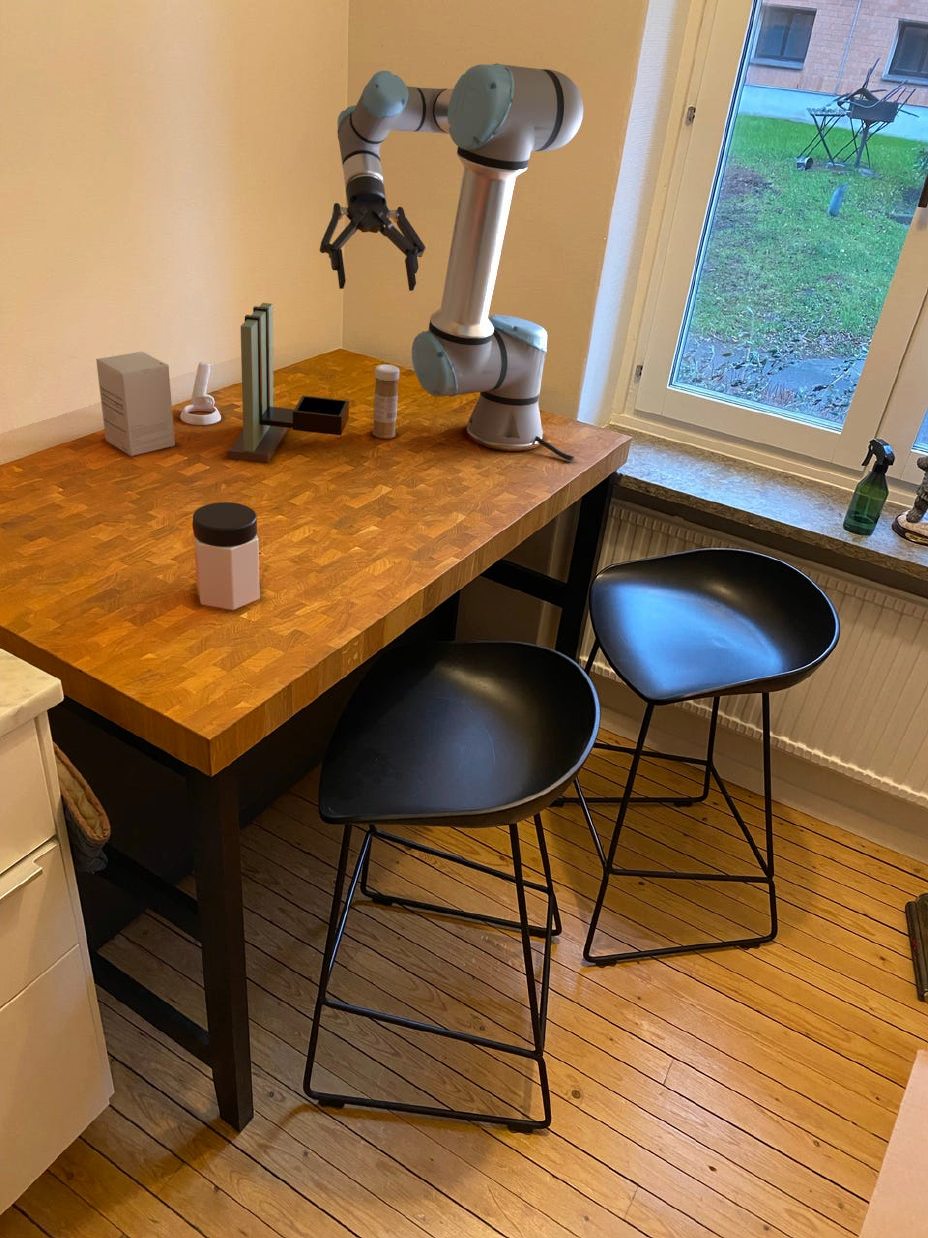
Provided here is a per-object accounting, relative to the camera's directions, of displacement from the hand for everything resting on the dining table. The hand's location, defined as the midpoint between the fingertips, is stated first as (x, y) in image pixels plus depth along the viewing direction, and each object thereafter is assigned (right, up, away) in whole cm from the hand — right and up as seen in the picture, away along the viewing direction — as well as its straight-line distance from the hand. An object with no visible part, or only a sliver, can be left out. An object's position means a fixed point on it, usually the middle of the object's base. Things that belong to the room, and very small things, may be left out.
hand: (378, 285), depth 178 cm
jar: (-16, -60, -49) cm, 79 cm away
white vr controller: (-35, -24, +4) cm, 42 cm away
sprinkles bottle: (+1, -27, +5) cm, 28 cm away
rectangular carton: (-42, -32, -10) cm, 53 cm away
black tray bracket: (-14, -27, -7) cm, 31 cm away
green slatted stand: (-22, -31, -4) cm, 38 cm away
